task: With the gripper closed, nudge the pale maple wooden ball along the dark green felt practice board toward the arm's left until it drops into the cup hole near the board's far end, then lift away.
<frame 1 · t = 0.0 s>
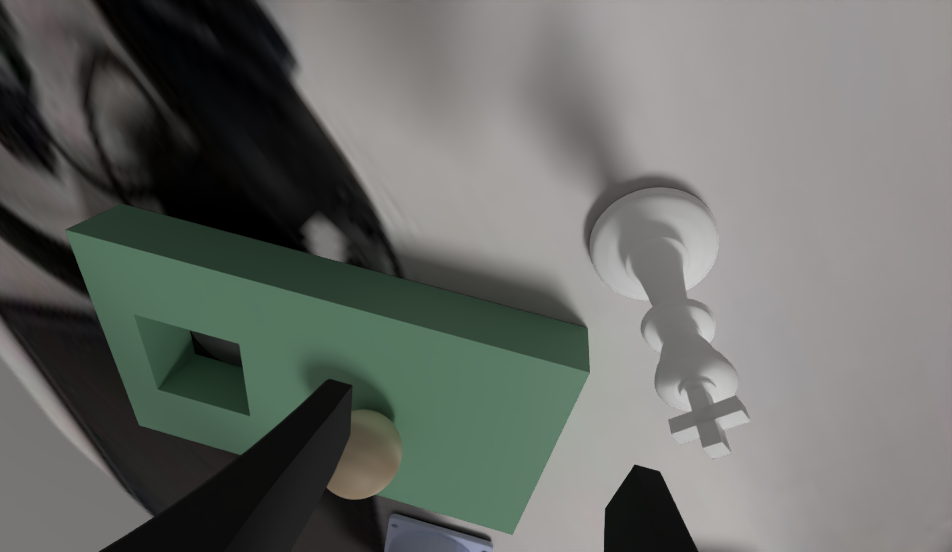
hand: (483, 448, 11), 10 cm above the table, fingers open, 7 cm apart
maple ball: (360, 452, 21), point 5 cm above the table, touching putting board
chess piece: (650, 241, 18), on the table
putting board: (345, 364, 25), on the table
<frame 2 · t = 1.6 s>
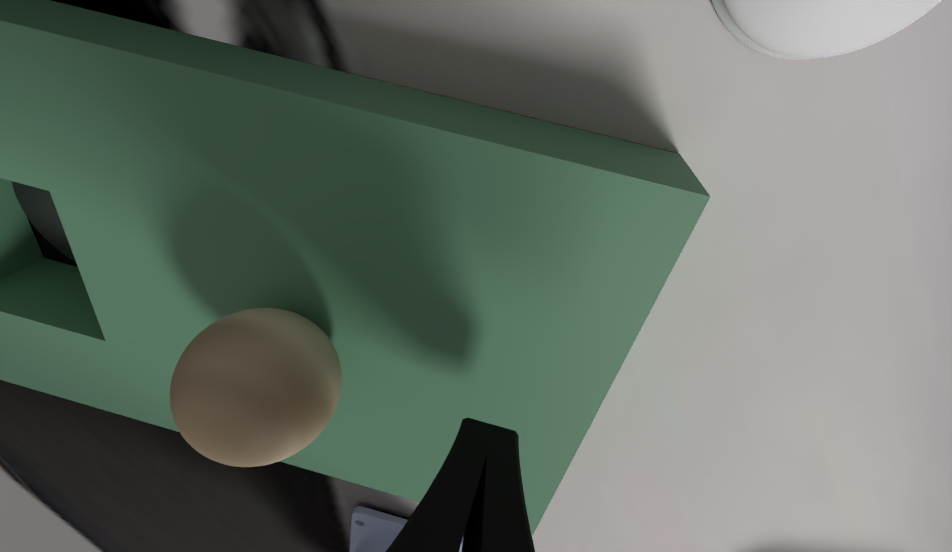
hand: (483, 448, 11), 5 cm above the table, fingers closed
maple ball: (262, 384, 12), point 5 cm above the table, touching putting board
putting board: (265, 261, 16), on the table
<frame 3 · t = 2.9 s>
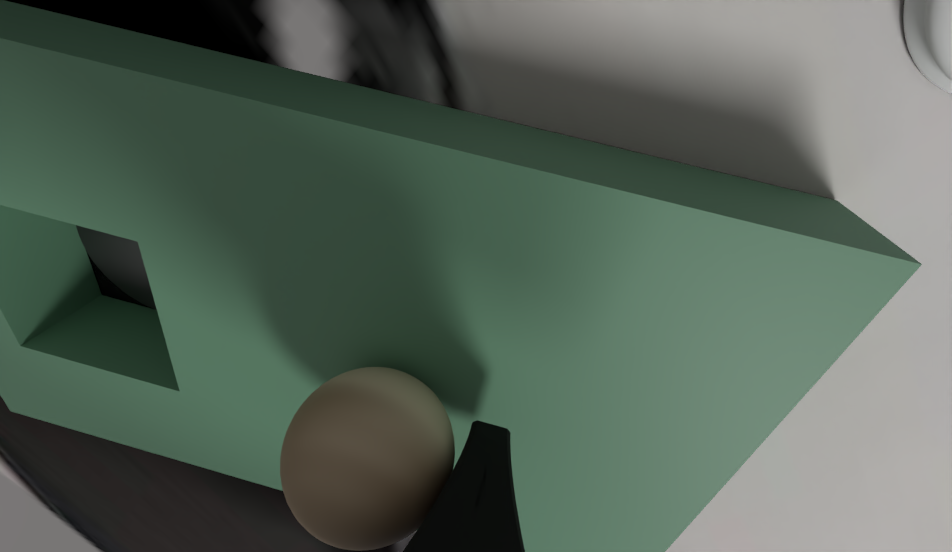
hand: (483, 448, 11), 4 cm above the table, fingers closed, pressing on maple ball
maple ball: (371, 452, 10), point 5 cm above the table, touching gripper, putting board
putting board: (346, 302, 15), on the table
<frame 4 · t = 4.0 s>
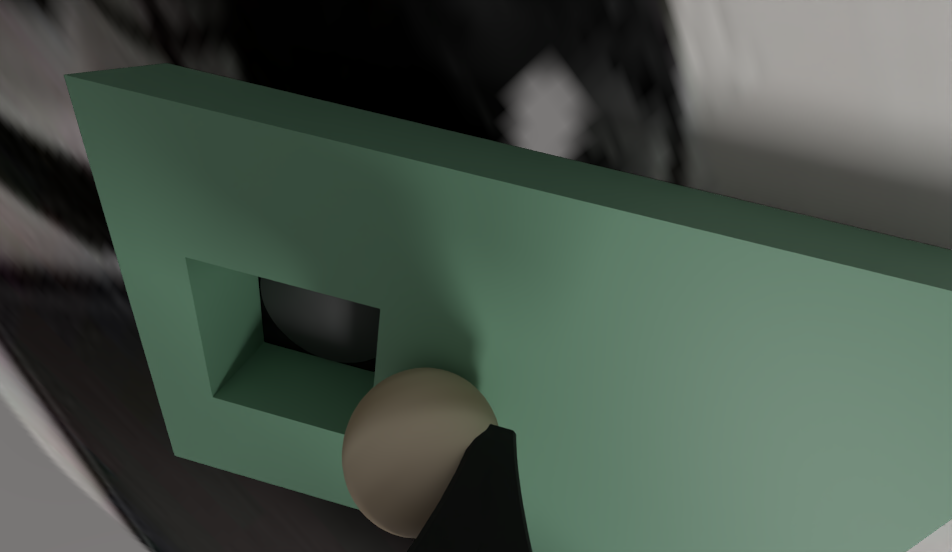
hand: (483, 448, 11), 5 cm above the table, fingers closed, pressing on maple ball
maple ball: (423, 447, 11), point 5 cm above the table, tilted 149°, touching gripper, putting board
putting board: (519, 354, 15), on the table
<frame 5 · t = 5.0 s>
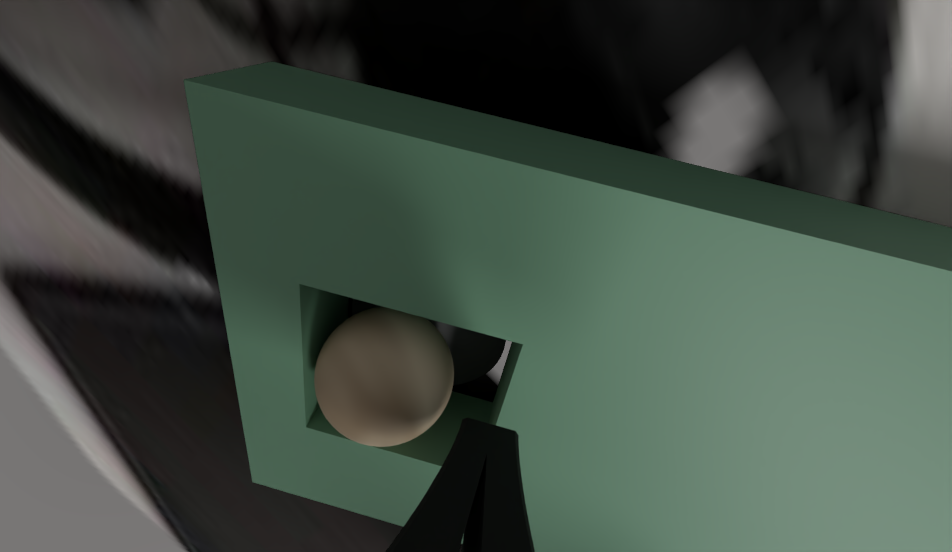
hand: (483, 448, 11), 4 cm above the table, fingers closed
maple ball: (386, 374, 13), point 2 cm above the table, tilted 40°, touching putting board
putting board: (636, 380, 14), on the table
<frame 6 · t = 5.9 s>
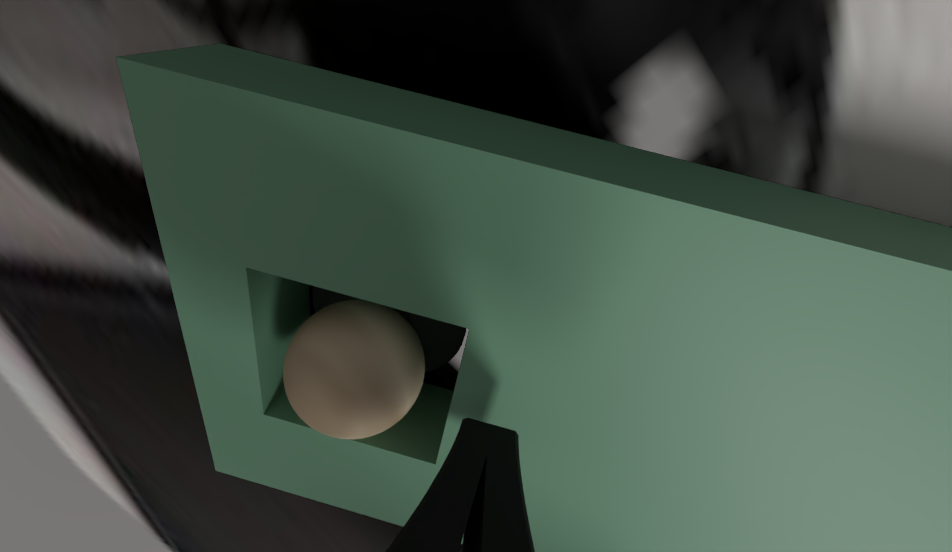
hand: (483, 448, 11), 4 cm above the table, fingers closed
maple ball: (356, 367, 13), point 2 cm above the table, tilted 27°, touching putting board
putting board: (596, 369, 14), on the table
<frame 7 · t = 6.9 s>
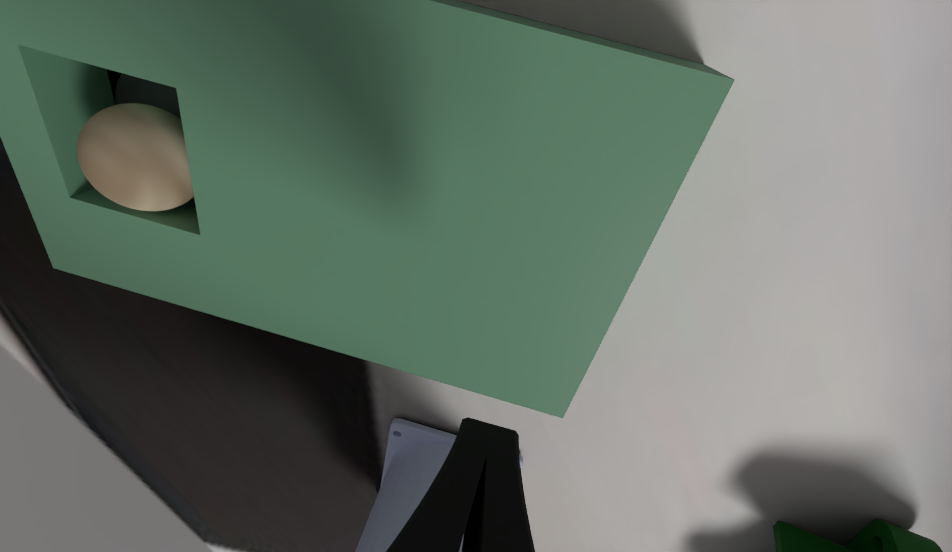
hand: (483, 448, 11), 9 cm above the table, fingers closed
maple ball: (146, 158, 17), point 2 cm above the table, tilted 15°, touching putting board
clamp: (797, 549, 26), on the table
putting board: (336, 172, 18), on the table
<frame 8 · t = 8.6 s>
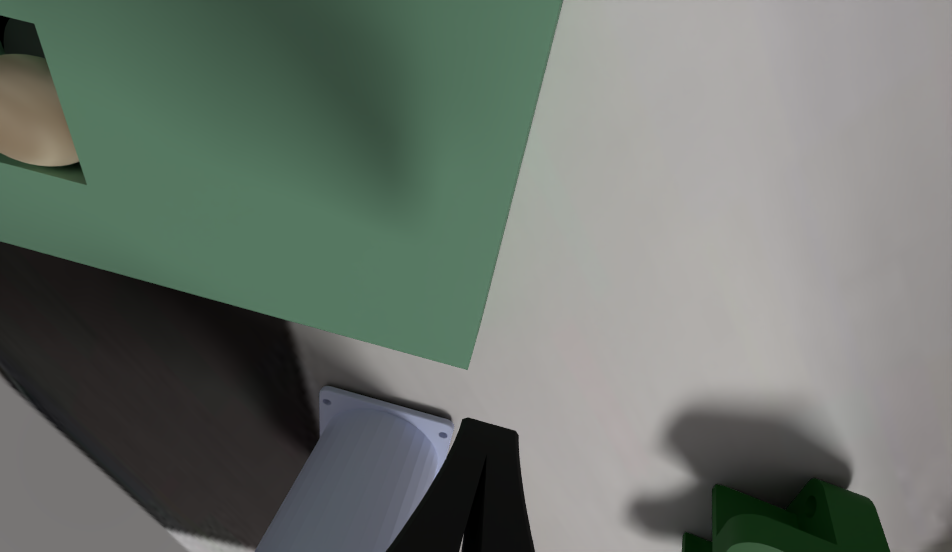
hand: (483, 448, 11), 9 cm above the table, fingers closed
maple ball: (39, 112, 17), point 2 cm above the table, tilted 11°, touching putting board
clamp: (741, 515, 26), on the table
putting board: (228, 121, 18), on the table
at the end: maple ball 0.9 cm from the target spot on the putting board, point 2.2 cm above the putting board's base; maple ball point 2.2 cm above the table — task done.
